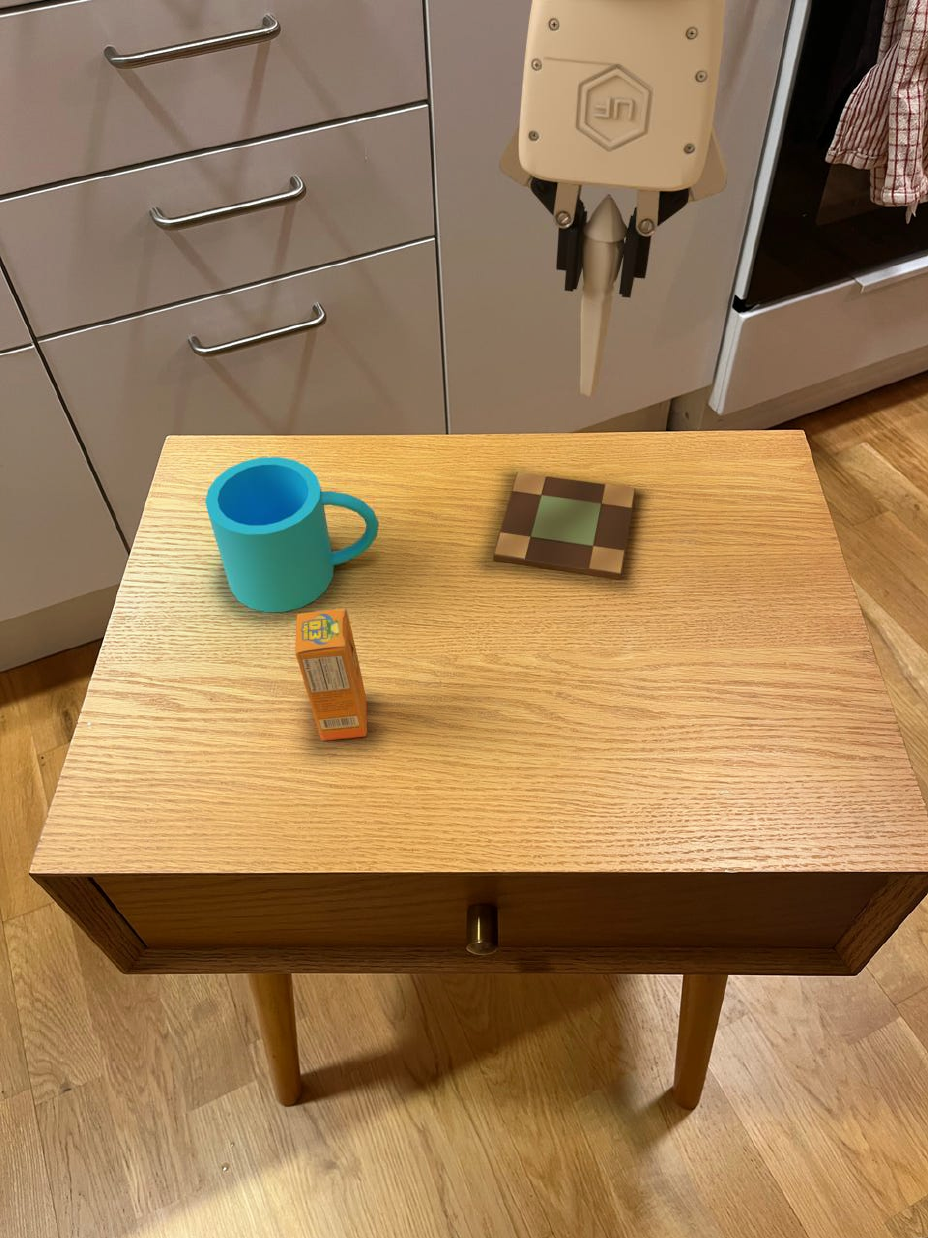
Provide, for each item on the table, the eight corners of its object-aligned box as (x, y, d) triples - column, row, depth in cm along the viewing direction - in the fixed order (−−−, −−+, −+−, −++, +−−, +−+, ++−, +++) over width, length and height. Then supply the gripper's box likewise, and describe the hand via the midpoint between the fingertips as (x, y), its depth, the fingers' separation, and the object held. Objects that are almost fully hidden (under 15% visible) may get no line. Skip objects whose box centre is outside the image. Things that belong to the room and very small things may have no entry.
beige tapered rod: (580, 378, 67) (599, 179, 57) (614, 391, 66) (639, 191, 56) (562, 397, 66) (577, 197, 55) (597, 410, 65) (619, 209, 54)
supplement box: (316, 703, 66) (295, 608, 59) (366, 699, 67) (351, 604, 59) (316, 744, 64) (293, 650, 57) (367, 739, 64) (352, 646, 57)
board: (634, 493, 80) (636, 487, 79) (620, 580, 74) (621, 573, 73) (516, 476, 81) (516, 470, 81) (492, 560, 75) (492, 554, 75)
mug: (228, 619, 72) (204, 541, 65) (228, 542, 77) (205, 463, 71) (388, 598, 73) (380, 520, 66) (377, 524, 78) (368, 445, 72)
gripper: (452, -55, 45) (459, 301, 59) (812, -37, 42) (730, 331, 56) (485, -99, 49) (485, 240, 63) (811, -85, 47) (735, 265, 61)
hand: (600, 280), depth 60 cm, fingers closed on beige tapered rod, 2 cm apart
